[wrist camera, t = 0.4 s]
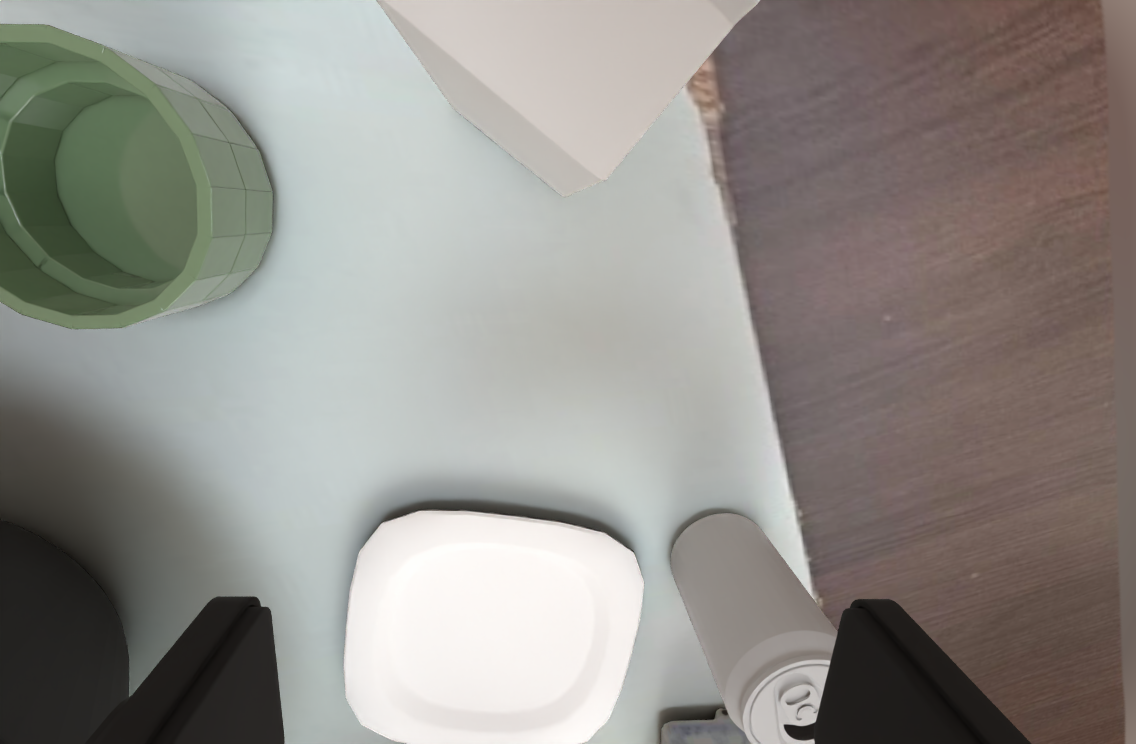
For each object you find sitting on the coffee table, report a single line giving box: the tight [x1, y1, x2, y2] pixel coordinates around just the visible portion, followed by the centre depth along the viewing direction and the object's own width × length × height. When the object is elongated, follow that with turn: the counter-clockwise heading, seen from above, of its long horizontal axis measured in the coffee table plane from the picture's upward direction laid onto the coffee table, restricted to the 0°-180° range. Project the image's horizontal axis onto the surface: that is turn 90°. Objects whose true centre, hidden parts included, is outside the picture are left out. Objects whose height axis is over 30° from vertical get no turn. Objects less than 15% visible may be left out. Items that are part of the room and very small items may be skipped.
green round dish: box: [0, 24, 273, 329], centre depth 24 cm, size 11×11×6 cm
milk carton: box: [377, 0, 760, 197], centre depth 18 cm, size 7×7×19 cm
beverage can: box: [670, 513, 838, 744], centre depth 29 cm, size 6×6×12 cm
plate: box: [343, 509, 644, 744], centre depth 35 cm, size 18×18×2 cm
